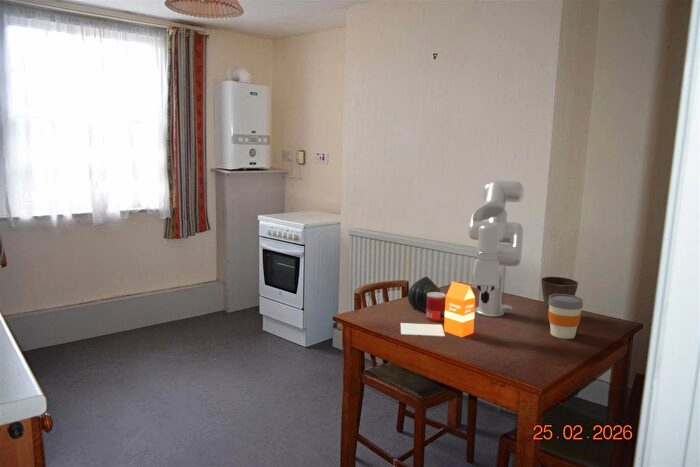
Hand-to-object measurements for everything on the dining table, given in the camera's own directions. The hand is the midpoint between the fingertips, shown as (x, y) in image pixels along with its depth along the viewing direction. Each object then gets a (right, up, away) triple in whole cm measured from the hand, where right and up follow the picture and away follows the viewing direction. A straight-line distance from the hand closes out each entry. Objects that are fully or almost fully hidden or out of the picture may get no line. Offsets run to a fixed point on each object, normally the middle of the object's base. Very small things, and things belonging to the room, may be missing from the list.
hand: (484, 302), depth 202 cm
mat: (-24, -12, +5) cm, 27 cm away
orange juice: (-10, -12, +3) cm, 16 cm away
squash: (-19, -7, +33) cm, 39 cm away
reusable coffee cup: (+31, -13, +2) cm, 34 cm away
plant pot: (+38, -10, +25) cm, 47 cm away
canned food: (-16, -10, +18) cm, 27 cm away
